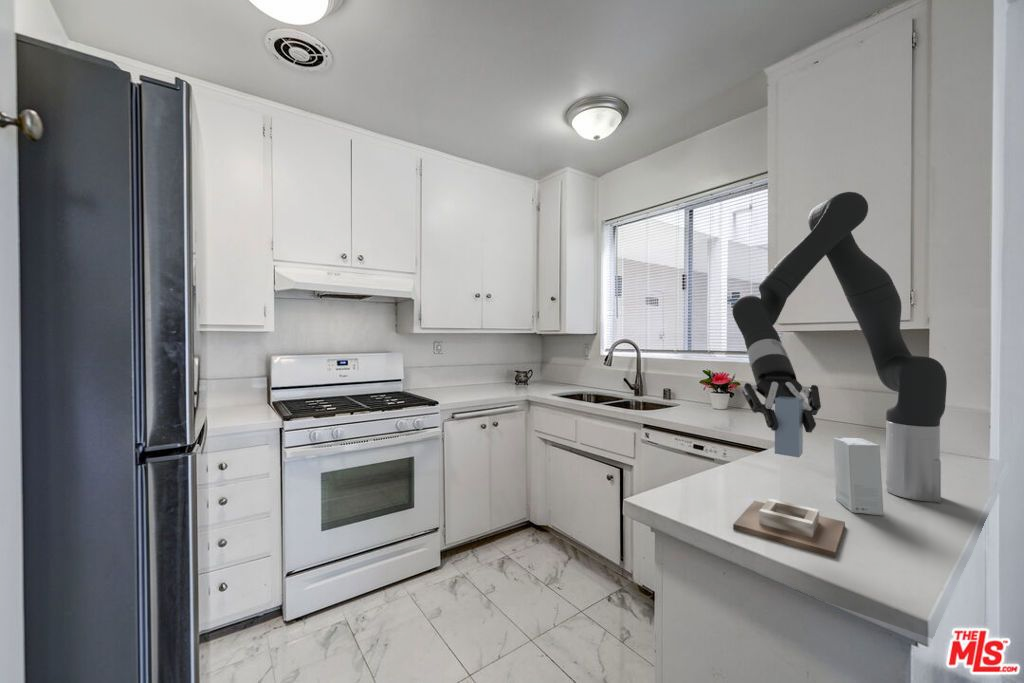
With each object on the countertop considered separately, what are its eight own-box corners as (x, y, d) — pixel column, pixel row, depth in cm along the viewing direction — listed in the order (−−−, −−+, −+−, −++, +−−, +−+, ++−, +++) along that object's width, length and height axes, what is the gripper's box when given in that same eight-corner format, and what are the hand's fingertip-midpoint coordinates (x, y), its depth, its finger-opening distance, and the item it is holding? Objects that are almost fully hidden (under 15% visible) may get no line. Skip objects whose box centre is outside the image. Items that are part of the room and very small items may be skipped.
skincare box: (884, 516, 87) (884, 446, 87) (849, 513, 89) (849, 444, 89) (863, 501, 95) (863, 437, 95) (832, 498, 97) (832, 435, 97)
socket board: (844, 526, 82) (844, 509, 82) (835, 557, 71) (835, 537, 71) (754, 505, 93) (754, 489, 93) (733, 528, 82) (733, 511, 82)
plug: (802, 453, 82) (802, 398, 82) (798, 457, 79) (799, 400, 79) (779, 449, 85) (779, 396, 85) (774, 453, 82) (774, 398, 82)
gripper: (738, 352, 91) (756, 416, 79) (812, 353, 87) (843, 420, 76) (731, 374, 96) (747, 437, 84) (801, 375, 93) (828, 442, 81)
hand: (792, 429), depth 80 cm, fingers closed on plug, 5 cm apart
